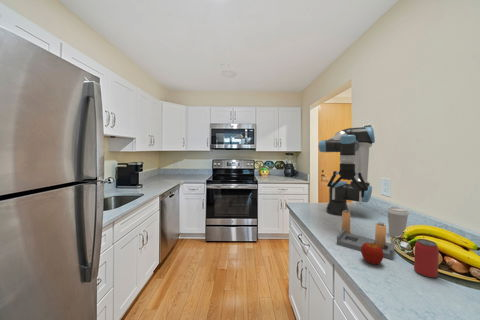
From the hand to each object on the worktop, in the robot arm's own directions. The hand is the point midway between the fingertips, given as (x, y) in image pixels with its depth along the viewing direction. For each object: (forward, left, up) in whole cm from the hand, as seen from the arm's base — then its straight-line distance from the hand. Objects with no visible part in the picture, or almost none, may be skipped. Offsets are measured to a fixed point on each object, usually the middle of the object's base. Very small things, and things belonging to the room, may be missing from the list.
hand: (346, 201), depth 112 cm
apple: (+25, +15, -18) cm, 35 cm away
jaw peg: (0, 0, -18) cm, 18 cm away
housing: (+11, +11, -18) cm, 24 cm away
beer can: (+21, +32, -18) cm, 43 cm away
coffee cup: (-13, +22, -18) cm, 32 cm away
